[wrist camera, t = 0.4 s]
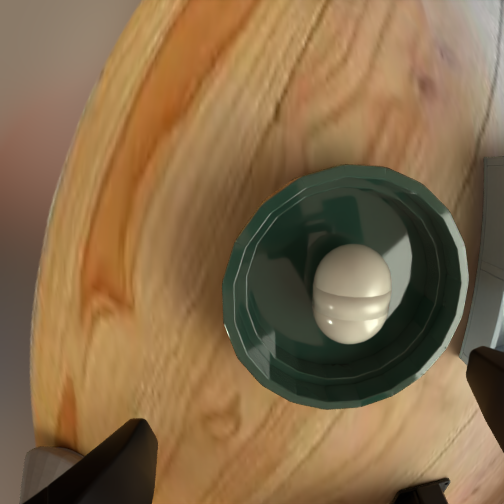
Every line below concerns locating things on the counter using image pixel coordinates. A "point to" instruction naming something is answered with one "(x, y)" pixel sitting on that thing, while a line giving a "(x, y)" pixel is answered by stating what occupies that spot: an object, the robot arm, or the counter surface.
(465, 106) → the counter surface
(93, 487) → the robot arm
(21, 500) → the coffee pot
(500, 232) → the divided tray
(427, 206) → the bowl
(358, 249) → the egg
